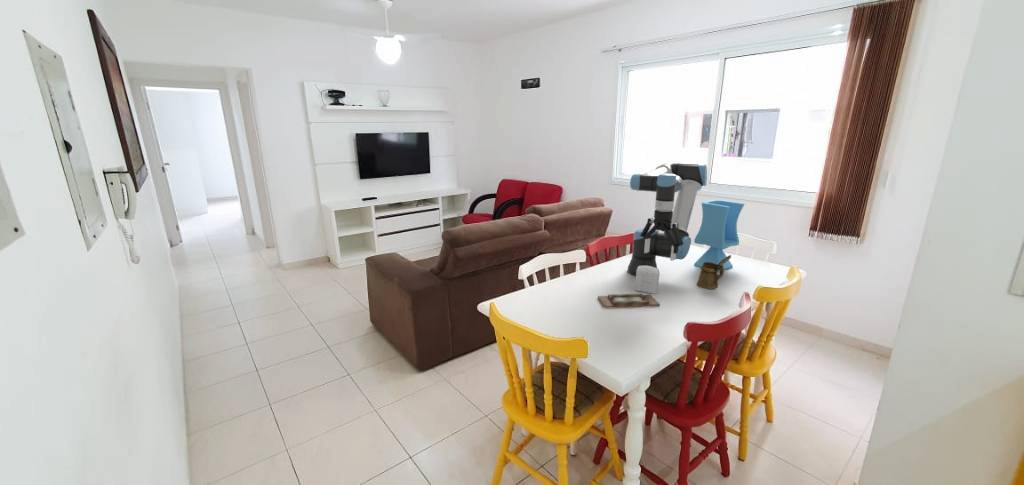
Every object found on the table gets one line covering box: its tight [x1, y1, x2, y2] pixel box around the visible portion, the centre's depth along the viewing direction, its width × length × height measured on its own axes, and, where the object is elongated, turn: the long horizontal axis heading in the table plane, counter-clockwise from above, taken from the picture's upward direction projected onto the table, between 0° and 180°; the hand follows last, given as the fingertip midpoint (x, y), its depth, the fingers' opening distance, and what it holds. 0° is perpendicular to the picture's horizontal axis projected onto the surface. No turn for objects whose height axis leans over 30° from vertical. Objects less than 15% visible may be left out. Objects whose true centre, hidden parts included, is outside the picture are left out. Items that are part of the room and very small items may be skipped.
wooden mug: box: [696, 254, 732, 291], centre depth 188 cm, size 9×14×18 cm, turn 35°
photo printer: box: [634, 266, 661, 295], centre depth 185 cm, size 10×4×12 cm, turn 61°
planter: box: [693, 199, 745, 273], centre depth 214 cm, size 16×16×35 cm
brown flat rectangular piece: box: [597, 293, 661, 308], centre depth 175 cm, size 24×10×3 cm, turn 93°
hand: (659, 256), depth 181 cm, fingers open, 13 cm apart
